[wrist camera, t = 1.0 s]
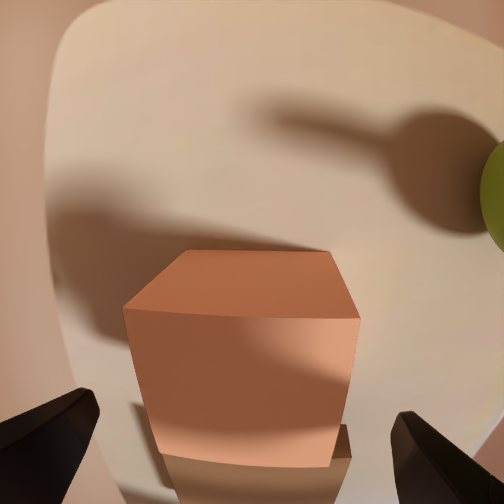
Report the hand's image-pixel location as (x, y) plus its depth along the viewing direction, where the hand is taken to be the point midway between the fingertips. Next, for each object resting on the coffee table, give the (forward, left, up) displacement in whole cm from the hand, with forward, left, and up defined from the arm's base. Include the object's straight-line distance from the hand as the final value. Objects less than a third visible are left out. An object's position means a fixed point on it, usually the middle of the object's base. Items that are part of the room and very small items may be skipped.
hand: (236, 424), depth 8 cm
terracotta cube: (0, 0, -7) cm, 7 cm away
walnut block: (-12, 0, -7) cm, 14 cm away
